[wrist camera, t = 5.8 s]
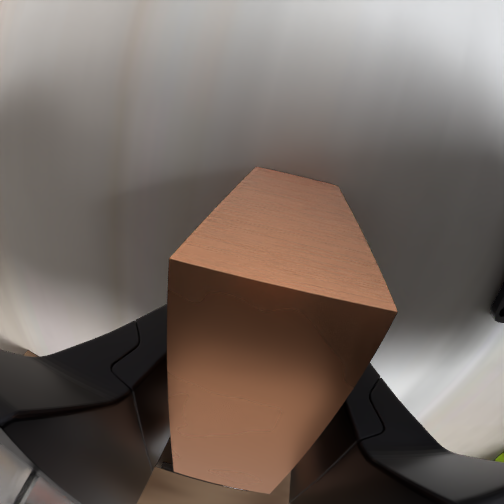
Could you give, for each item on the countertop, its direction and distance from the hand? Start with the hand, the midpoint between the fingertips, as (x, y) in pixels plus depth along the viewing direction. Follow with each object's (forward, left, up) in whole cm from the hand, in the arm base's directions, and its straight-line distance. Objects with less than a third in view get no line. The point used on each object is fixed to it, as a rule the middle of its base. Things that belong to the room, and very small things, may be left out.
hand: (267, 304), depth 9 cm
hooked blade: (+2, +8, -1) cm, 9 cm away
